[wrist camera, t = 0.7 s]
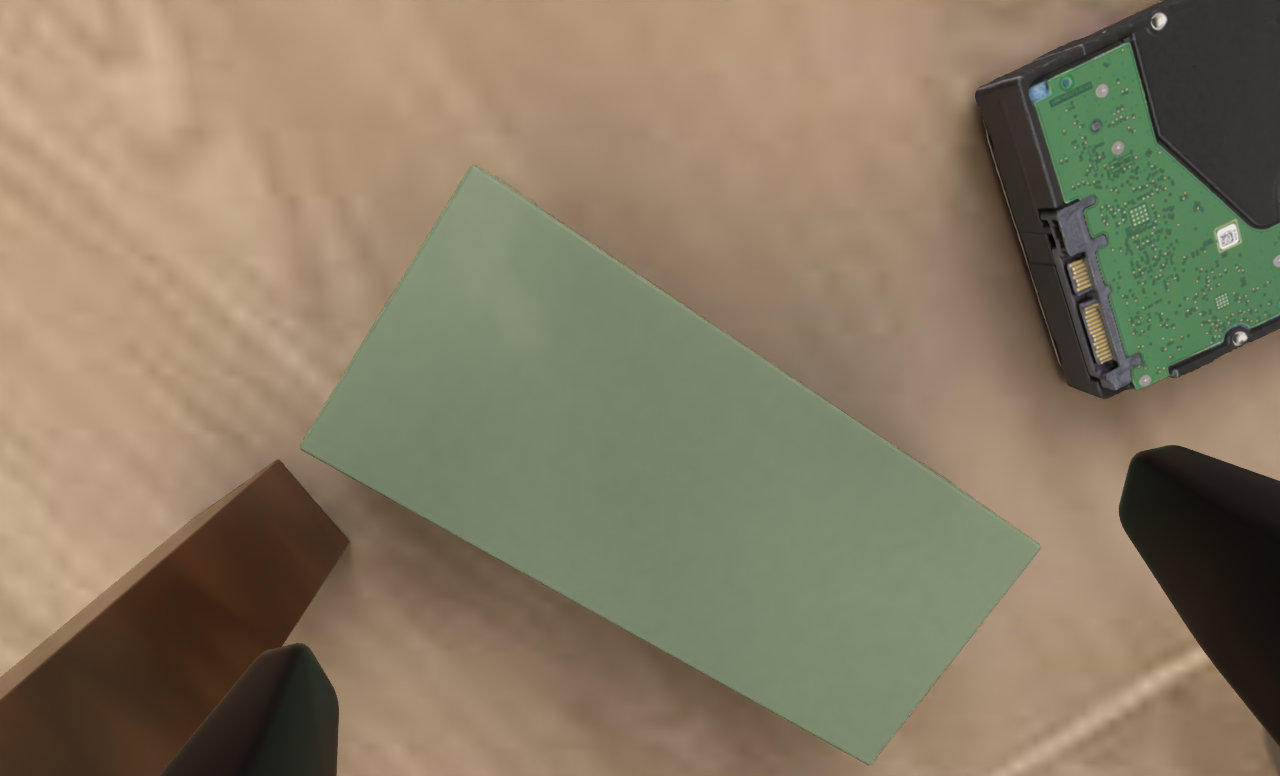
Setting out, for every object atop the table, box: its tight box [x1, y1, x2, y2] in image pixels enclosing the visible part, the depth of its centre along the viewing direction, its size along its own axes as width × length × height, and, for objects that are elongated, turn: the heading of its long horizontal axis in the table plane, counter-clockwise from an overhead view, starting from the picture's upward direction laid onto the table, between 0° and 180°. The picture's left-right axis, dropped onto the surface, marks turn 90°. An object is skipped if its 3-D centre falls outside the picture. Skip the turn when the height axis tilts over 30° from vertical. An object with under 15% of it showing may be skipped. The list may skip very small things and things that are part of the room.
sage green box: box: [300, 165, 1041, 765], centre depth 22 cm, size 8×18×5 cm, turn 56°
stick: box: [0, 460, 350, 776], centre depth 18 cm, size 3×3×13 cm
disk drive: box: [975, 0, 1280, 399], centre depth 23 cm, size 10×3×15 cm
